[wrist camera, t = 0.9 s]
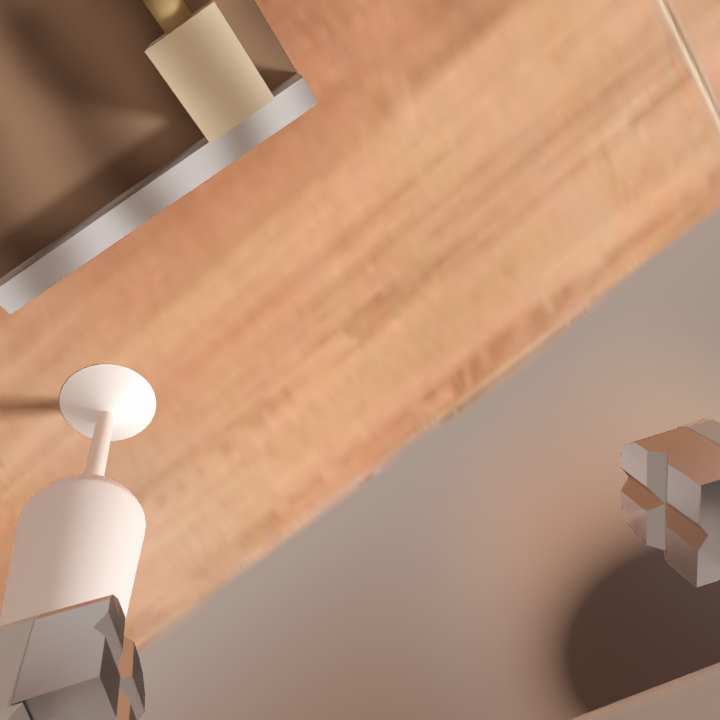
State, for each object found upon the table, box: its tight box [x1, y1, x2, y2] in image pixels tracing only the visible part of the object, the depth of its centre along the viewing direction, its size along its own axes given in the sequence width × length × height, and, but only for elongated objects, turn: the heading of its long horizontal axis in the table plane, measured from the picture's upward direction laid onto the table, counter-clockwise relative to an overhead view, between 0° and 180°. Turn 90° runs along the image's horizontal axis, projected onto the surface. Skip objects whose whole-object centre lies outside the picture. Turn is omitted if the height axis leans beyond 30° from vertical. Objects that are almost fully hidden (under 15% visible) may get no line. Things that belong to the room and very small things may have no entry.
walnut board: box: [0, 0, 318, 314], centre depth 36 cm, size 22×14×4 cm, turn 120°
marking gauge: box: [143, 0, 275, 143], centre depth 33 cm, size 4×9×6 cm, turn 30°
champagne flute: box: [0, 364, 156, 627], centre depth 38 cm, size 7×7×24 cm
